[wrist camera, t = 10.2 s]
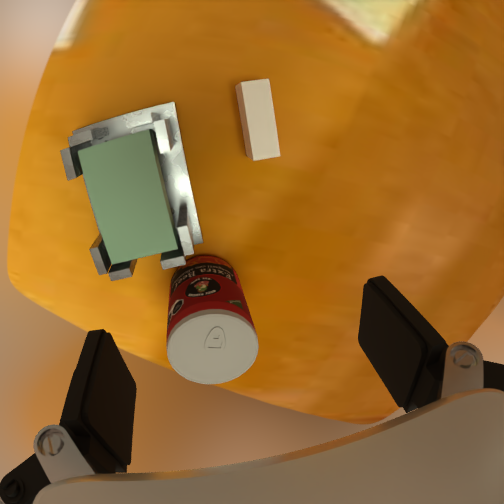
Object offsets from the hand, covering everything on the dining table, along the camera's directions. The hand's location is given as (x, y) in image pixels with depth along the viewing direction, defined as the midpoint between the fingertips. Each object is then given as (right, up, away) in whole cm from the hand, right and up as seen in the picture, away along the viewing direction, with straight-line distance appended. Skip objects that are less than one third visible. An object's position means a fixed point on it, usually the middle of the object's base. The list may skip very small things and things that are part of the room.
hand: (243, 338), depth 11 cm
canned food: (-5, -1, +24) cm, 24 cm away
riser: (0, +16, +17) cm, 23 cm away
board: (-10, +8, +14) cm, 19 cm away
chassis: (-11, +9, +18) cm, 23 cm away
